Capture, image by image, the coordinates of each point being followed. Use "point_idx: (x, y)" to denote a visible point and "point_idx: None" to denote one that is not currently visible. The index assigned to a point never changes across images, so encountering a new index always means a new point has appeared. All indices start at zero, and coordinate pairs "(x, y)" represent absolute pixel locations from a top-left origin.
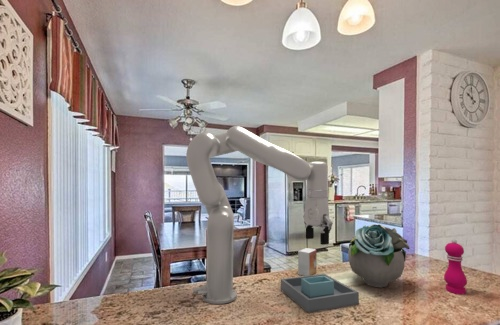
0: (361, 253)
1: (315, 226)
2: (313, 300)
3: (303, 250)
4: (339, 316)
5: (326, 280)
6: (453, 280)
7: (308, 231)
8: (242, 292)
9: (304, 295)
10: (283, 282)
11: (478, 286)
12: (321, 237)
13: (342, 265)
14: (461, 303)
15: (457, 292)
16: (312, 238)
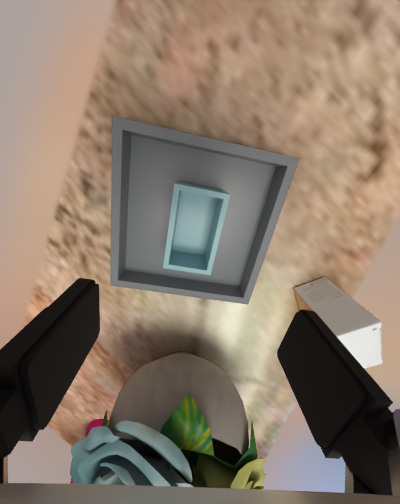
0: (165, 418)
1: (8, 490)
2: (113, 137)
3: (369, 339)
4: (84, 187)
5: (192, 264)
6: None
7: (330, 377)
8: (355, 6)
9: (148, 132)
10: (277, 153)
11: None
12: (37, 319)
13: (290, 386)
14: (64, 400)
15: (91, 423)
16: (281, 347)
